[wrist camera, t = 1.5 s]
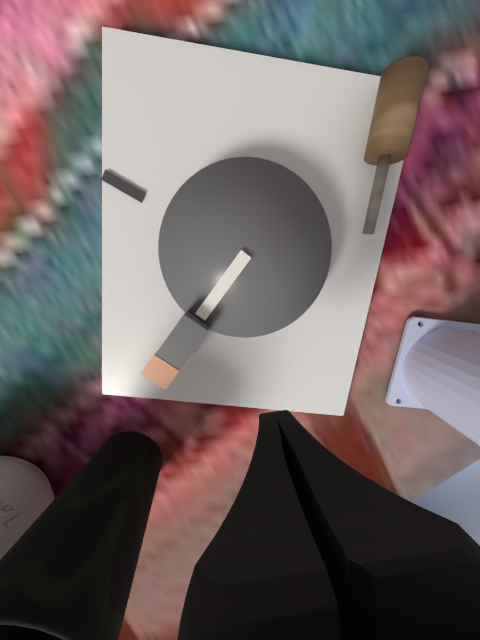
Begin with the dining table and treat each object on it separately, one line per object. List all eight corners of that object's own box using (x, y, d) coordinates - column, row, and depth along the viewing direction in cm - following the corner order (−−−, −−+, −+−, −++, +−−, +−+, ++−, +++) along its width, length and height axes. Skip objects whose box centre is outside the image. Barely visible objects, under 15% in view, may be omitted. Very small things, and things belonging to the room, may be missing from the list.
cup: (83, 422, 21) (-115, 624, 9) (170, 420, 21) (91, 613, 9) (94, 494, 22) (-60, 746, 10) (176, 491, 22) (114, 734, 11)
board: (408, 97, 16) (424, 81, 15) (337, 407, 21) (344, 417, 20) (112, 45, 15) (100, 23, 14) (109, 386, 20) (100, 395, 19)
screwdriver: (371, 86, 15) (398, 52, 13) (407, 92, 15) (439, 60, 13) (342, 233, 17) (360, 227, 14) (374, 238, 17) (397, 233, 15)
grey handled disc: (227, 131, 15) (226, 95, 12) (352, 240, 17) (380, 233, 14) (103, 321, 17) (75, 332, 14) (224, 400, 19) (222, 425, 16)
